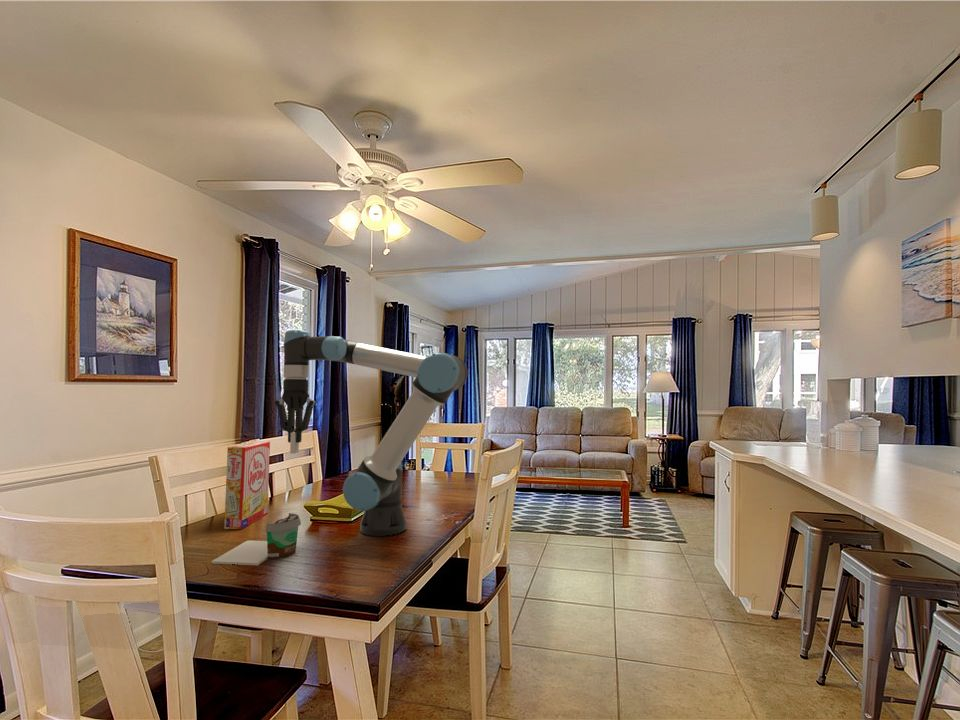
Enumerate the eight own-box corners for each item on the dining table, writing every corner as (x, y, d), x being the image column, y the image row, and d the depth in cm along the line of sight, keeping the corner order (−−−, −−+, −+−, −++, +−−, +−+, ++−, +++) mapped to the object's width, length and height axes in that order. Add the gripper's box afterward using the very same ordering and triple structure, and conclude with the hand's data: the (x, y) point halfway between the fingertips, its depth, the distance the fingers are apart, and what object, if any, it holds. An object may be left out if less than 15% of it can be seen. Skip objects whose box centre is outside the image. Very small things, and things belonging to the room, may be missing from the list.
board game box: (242, 530, 164) (244, 447, 165) (223, 529, 164) (225, 447, 165) (268, 513, 185) (270, 440, 186) (251, 513, 185) (253, 440, 186)
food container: (285, 562, 135) (286, 525, 135) (264, 561, 136) (265, 524, 136) (308, 548, 147) (309, 513, 147) (289, 546, 148) (289, 512, 148)
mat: (288, 543, 150) (288, 541, 151) (257, 565, 133) (257, 563, 133) (247, 542, 151) (247, 540, 152) (211, 563, 134) (211, 561, 134)
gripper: (320, 378, 163) (319, 451, 162) (282, 378, 164) (280, 451, 163) (310, 378, 155) (309, 454, 154) (270, 378, 156) (268, 454, 155)
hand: (294, 452), depth 158 cm, fingers closed
